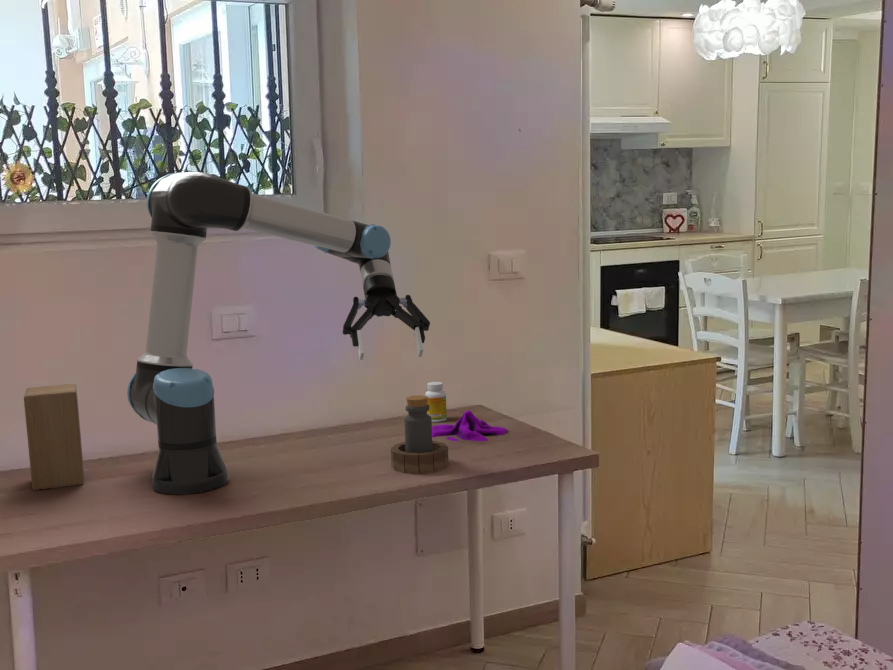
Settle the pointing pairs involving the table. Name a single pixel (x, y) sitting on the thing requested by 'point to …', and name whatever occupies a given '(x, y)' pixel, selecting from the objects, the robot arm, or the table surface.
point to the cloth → (467, 429)
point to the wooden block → (54, 436)
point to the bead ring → (419, 459)
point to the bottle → (418, 425)
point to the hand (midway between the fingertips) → (391, 355)
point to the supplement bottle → (436, 402)
